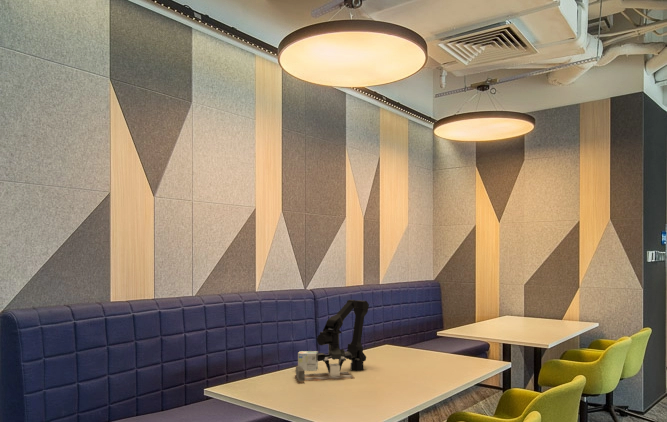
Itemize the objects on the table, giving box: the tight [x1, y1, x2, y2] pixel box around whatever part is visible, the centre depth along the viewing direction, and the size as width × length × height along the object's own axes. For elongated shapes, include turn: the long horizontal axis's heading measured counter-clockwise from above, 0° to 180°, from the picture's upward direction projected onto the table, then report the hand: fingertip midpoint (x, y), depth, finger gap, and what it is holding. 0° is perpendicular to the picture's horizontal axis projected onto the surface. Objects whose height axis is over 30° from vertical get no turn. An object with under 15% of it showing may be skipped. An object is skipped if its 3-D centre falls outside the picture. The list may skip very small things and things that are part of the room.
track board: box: [294, 365, 355, 385], centre depth 275 cm, size 30×14×6 cm, turn 101°
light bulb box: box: [297, 350, 319, 372], centre depth 292 cm, size 11×7×11 cm, turn 84°
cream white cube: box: [328, 362, 341, 376], centre depth 276 cm, size 5×6×6 cm
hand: (334, 372), depth 276 cm, fingers closed on cream white cube, 5 cm apart
